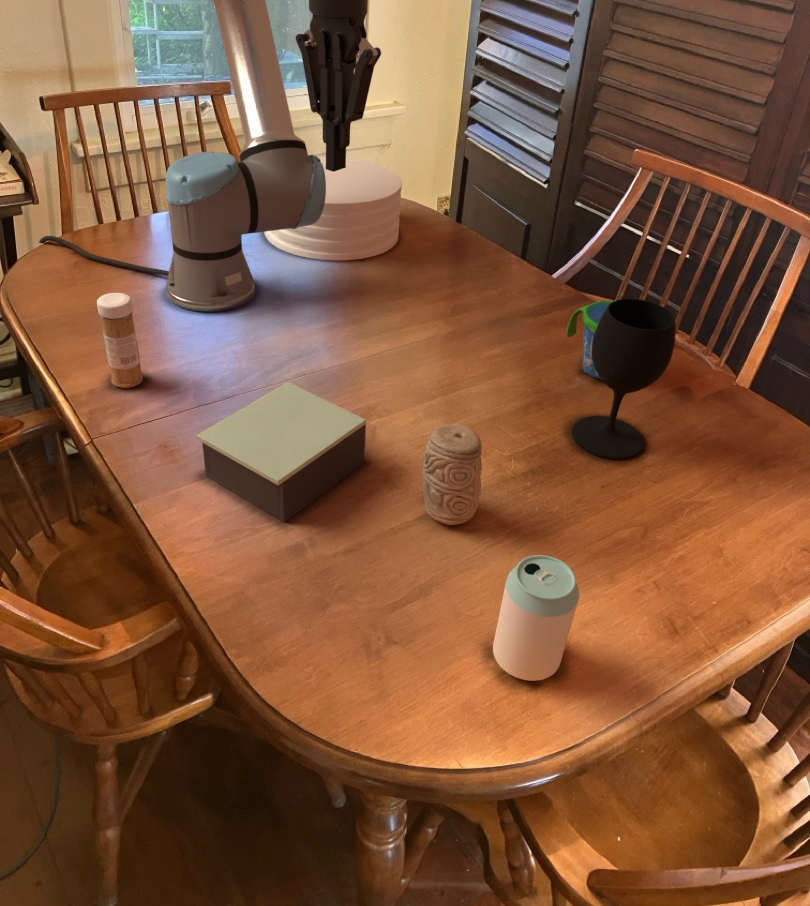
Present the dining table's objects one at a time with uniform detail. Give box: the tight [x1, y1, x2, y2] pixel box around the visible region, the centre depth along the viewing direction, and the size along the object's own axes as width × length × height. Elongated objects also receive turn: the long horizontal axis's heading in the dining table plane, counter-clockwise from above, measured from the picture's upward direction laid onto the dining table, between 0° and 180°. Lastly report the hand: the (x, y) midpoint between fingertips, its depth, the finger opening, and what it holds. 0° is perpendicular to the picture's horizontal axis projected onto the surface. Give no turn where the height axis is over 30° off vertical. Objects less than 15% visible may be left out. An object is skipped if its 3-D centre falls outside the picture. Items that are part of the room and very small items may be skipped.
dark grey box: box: [201, 423, 367, 523], centre depth 103 cm, size 16×14×6 cm
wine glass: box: [571, 298, 677, 461], centre depth 110 cm, size 10×10×20 cm
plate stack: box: [264, 156, 403, 261], centre depth 165 cm, size 28×28×12 cm
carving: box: [421, 422, 483, 526], centre depth 97 cm, size 6×8×12 cm
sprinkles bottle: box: [96, 292, 144, 389], centre depth 115 cm, size 5×5×14 cm
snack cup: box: [566, 300, 615, 382], centre depth 128 cm, size 16×10×10 cm
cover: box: [196, 381, 367, 485], centre depth 101 cm, size 16×14×1 cm
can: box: [492, 554, 580, 682], centre depth 80 cm, size 7×7×12 cm
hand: (335, 168), depth 115 cm, fingers closed
